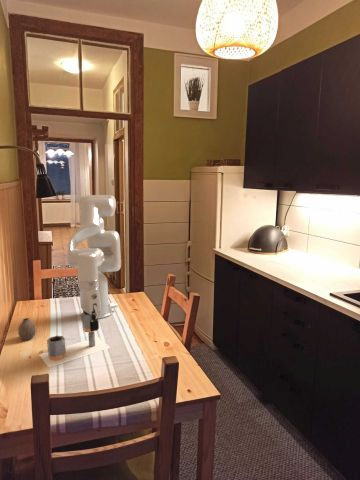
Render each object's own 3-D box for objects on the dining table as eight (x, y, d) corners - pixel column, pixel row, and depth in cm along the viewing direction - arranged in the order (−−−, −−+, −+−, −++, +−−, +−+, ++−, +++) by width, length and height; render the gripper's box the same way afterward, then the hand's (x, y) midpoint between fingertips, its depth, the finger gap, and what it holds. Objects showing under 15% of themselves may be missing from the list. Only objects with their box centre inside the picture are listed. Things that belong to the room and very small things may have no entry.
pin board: (97, 340, 148) (96, 323, 147) (110, 351, 138) (109, 332, 137) (39, 358, 134) (37, 339, 132) (48, 371, 124) (47, 351, 123)
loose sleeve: (94, 324, 143) (94, 308, 142) (100, 329, 138) (100, 312, 137) (81, 328, 139) (80, 312, 138) (87, 333, 135) (85, 316, 134)
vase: (39, 335, 153) (38, 317, 151) (28, 342, 146) (26, 323, 145) (27, 333, 155) (25, 315, 154) (15, 340, 149) (13, 321, 147)
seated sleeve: (62, 351, 136) (61, 334, 134) (67, 357, 131) (66, 339, 130) (47, 355, 132) (45, 338, 131) (51, 362, 128) (50, 344, 126)
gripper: (107, 287, 131) (109, 332, 134) (88, 277, 145) (91, 318, 148) (88, 291, 127) (90, 337, 130) (71, 280, 140) (74, 323, 143)
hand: (91, 327), depth 139 cm, fingers closed on loose sleeve, 5 cm apart
